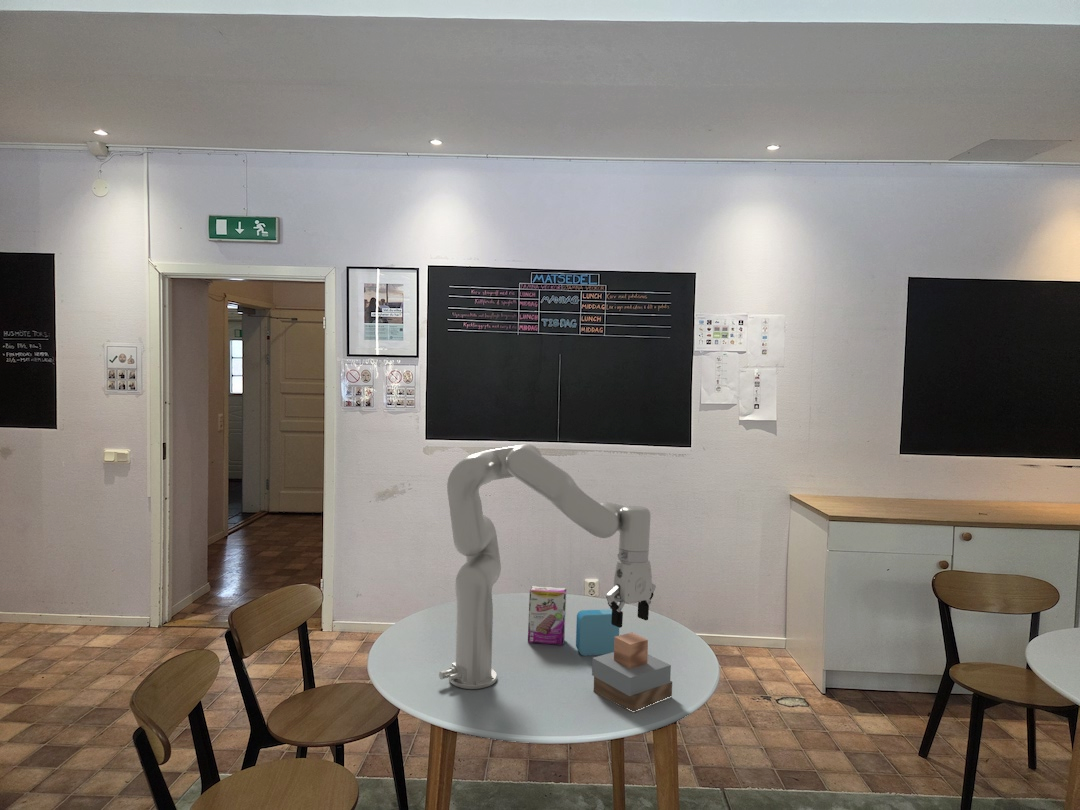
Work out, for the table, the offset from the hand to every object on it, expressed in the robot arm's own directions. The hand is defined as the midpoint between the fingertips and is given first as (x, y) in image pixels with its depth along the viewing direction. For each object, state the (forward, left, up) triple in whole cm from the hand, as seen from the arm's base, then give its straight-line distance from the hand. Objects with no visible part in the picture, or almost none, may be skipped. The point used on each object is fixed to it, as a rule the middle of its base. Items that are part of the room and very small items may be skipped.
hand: (629, 622), depth 168 cm
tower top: (+1, 0, -15) cm, 15 cm away
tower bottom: (+1, -1, -19) cm, 19 cm away
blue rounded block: (+13, +25, -19) cm, 34 cm away
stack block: (0, 0, -10) cm, 10 cm away
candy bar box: (+6, +40, -19) cm, 44 cm away
